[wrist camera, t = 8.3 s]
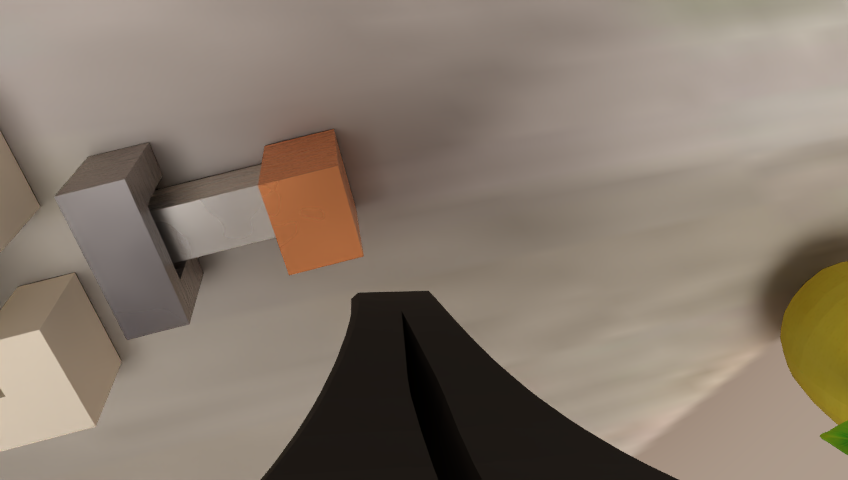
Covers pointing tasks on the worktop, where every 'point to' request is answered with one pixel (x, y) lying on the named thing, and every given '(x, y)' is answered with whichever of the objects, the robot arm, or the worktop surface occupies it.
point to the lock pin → (267, 207)
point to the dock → (47, 340)
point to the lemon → (821, 346)
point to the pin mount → (128, 241)
